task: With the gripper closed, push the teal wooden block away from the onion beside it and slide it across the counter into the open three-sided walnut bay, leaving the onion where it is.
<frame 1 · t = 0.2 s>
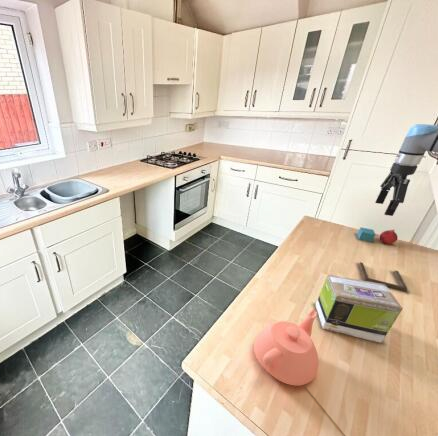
hand: (383, 208, 112), 16 cm above the counter, tool pointing down, fingers open, 13 cm apart
tea box: (344, 324, 77), on the counter
onion: (384, 244, 114), on the counter
bay: (379, 277, 95), on the counter
teapot: (283, 359, 68), on the counter
teal block: (363, 239, 118), on the counter
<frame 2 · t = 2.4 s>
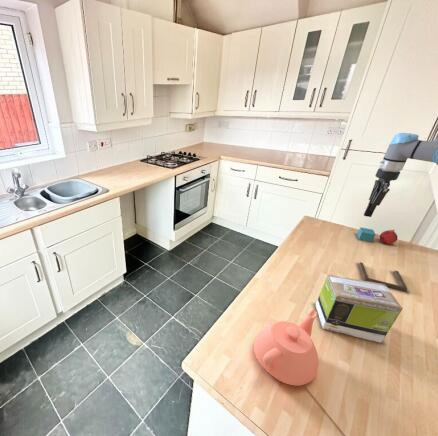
hand: (367, 215, 120), 9 cm above the counter, tool pointing down, fingers closed
nothing on the counter moved.
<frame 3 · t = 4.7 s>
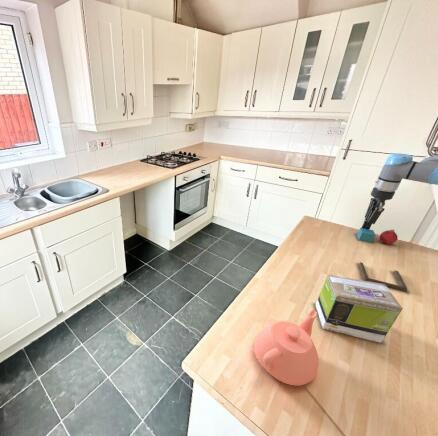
hand: (363, 233, 120), 2 cm above the counter, tool pointing down, fingers closed
teal block: (363, 240, 117), on the counter, touching gripper
everything else where it was.
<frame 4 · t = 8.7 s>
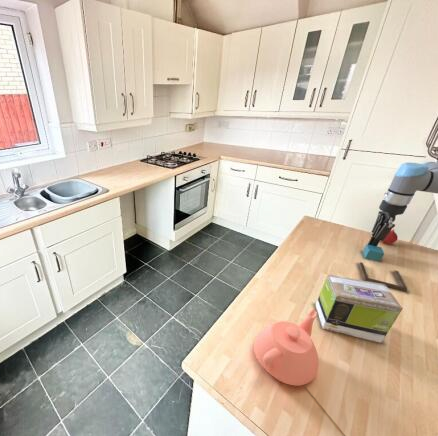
hand: (369, 250, 108), 2 cm above the counter, tool pointing down, fingers closed
teal block: (370, 258, 105), on the counter, touching gripper
everything else where it was.
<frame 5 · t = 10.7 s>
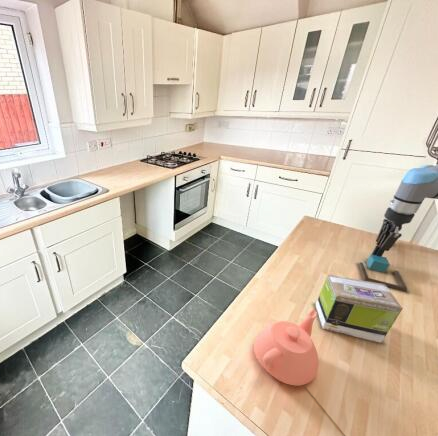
hand: (373, 260, 102), 2 cm above the counter, tool pointing down, fingers closed
teal block: (374, 268, 99), on the counter, touching gripper
everything else where it was.
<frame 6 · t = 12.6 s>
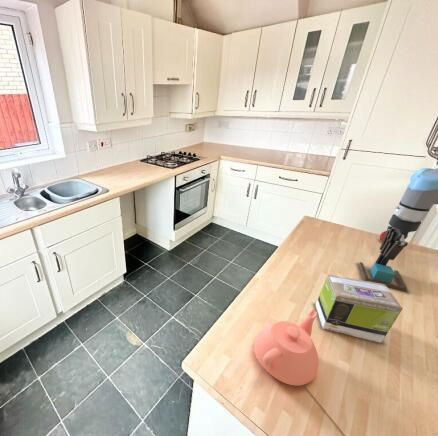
hand: (377, 269, 97), 2 cm above the counter, tool pointing down, fingers closed
teal block: (378, 278, 94), on the counter, touching gripper
everything else where it was.
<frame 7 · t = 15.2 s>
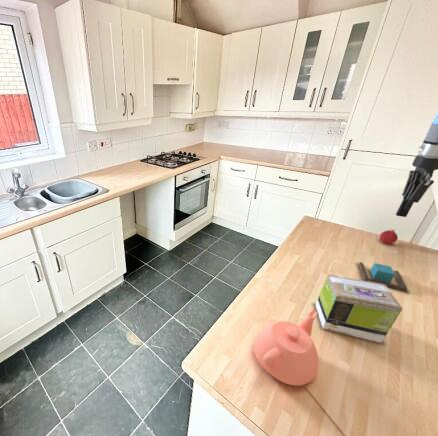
hand: (400, 215, 96), 21 cm above the counter, tool pointing down, fingers closed
teal block: (378, 278, 94), on the counter
everything else where it was.
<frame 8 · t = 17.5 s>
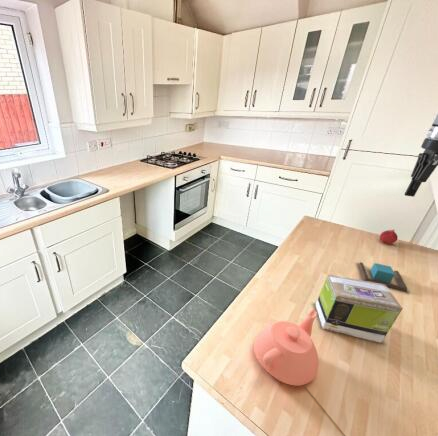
hand: (409, 195, 103), 24 cm above the counter, tool pointing down, fingers closed
nothing on the counter moved.
at the end: teal block inside the target area on the bay (0.6 cm from its centre), point 0.0 cm above the bay's base; onion moved 0.2 cm from its start; teal block tilted 0° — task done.
